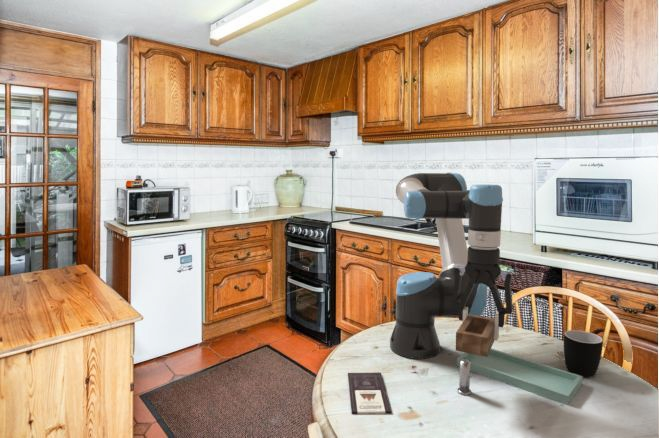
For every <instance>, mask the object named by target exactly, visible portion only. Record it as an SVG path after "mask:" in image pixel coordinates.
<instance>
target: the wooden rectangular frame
mask: <svg viewBox="0 0 659 438" xmlns="http://www.w3.org/2000/svg"><path fill="white" fill-rule="evenodd" d="M494 332H495V317H487V316H483V315H481V316H476V315H470V314H468V316H467V318H466V319H465V320H464V322H463V321H462V323H461V325H460V326H459V327H458V329H457V331H456V332H455V351H456V352H460V353H463V354H464V353H469V354H474V355H479V356H484V357H487V356H488V354H489V352H490V349H491V348H492V347H493V345H494V342H495V340H494Z"/></svg>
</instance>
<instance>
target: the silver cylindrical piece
mask: <svg viewBox="0 0 659 438" xmlns="http://www.w3.org/2000/svg"><path fill="white" fill-rule="evenodd" d="M470 380H471V371H470V361H469V360H467V359H461V360H460V367H459V383H458V385H459V386H458V388H457V393H458V394H459V395H461V396H470V395H471V394H472V391H471V389H470V386H471V385H470V382H471V381H470Z"/></svg>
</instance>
